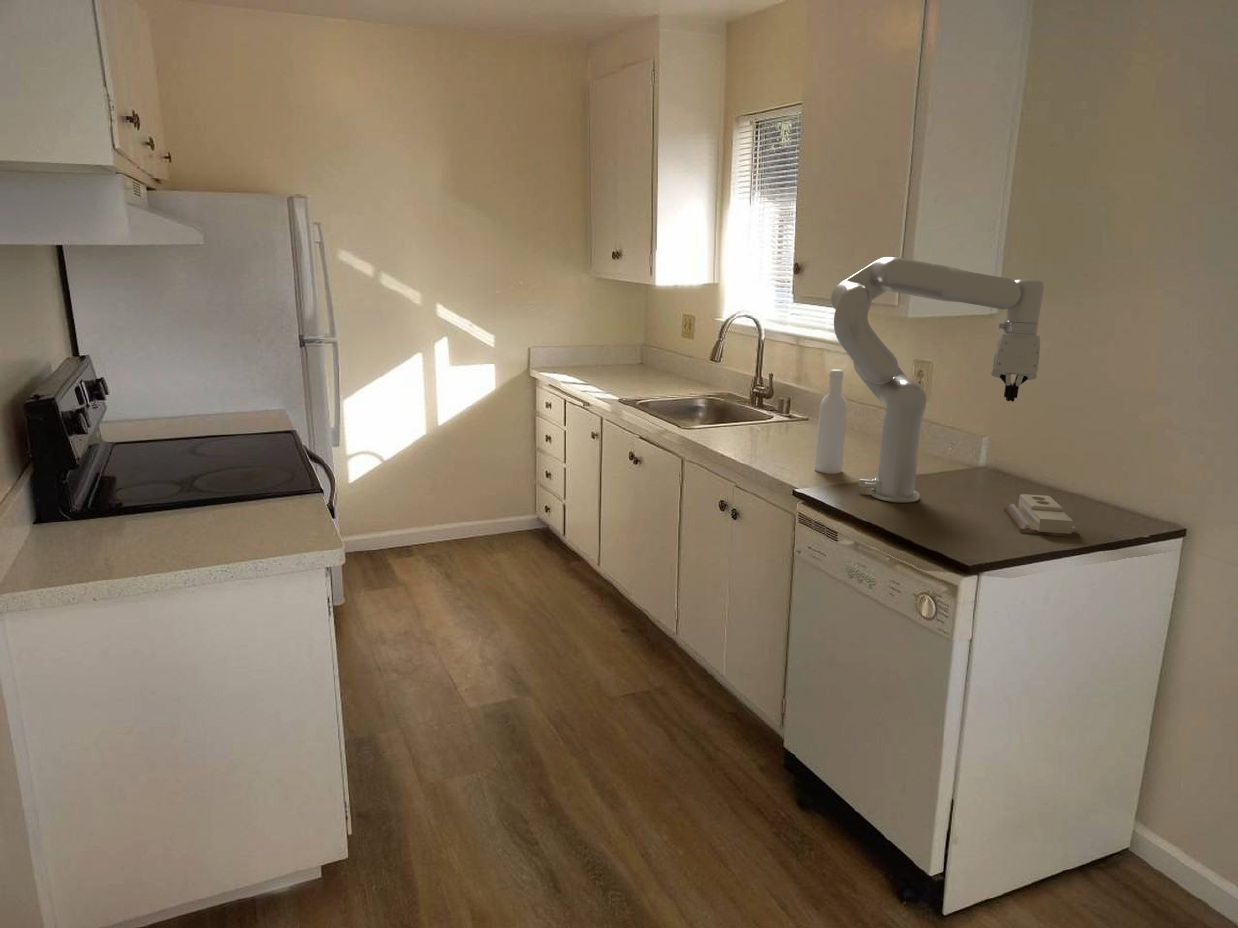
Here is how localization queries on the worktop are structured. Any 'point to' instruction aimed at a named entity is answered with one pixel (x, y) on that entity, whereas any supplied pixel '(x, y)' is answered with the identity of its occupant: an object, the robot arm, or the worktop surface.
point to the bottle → (832, 427)
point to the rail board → (1027, 527)
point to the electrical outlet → (1045, 514)
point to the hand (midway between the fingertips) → (1009, 400)
